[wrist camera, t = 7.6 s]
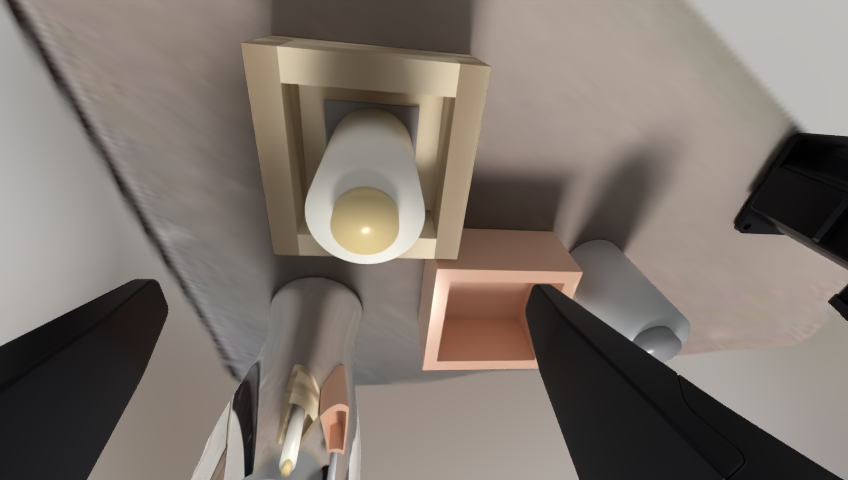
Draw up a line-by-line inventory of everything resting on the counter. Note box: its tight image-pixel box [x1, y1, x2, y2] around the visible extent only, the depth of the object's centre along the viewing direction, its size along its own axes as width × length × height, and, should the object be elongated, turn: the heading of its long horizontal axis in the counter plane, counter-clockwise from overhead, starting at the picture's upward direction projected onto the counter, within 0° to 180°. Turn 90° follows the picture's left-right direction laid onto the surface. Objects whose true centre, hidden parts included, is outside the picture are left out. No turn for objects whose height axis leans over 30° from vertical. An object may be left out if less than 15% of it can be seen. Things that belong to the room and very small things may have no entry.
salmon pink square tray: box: [418, 228, 583, 370], centre depth 23 cm, size 8×8×4 cm
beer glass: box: [191, 277, 363, 480], centre depth 19 cm, size 7×7×15 cm
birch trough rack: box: [241, 35, 491, 259], centre depth 17 cm, size 9×9×4 cm
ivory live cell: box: [305, 108, 425, 264], centre depth 15 cm, size 4×4×8 cm
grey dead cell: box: [569, 240, 690, 363], centre depth 22 cm, size 4×4×8 cm
